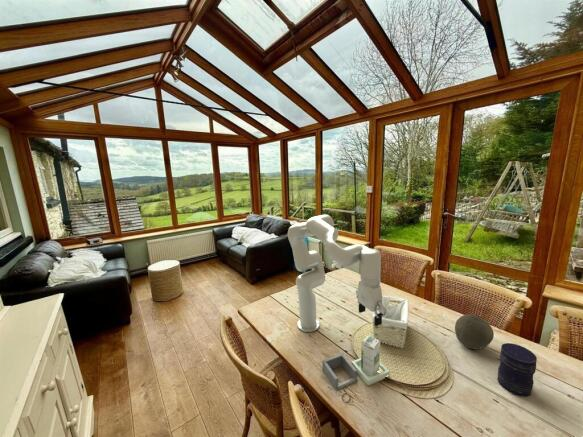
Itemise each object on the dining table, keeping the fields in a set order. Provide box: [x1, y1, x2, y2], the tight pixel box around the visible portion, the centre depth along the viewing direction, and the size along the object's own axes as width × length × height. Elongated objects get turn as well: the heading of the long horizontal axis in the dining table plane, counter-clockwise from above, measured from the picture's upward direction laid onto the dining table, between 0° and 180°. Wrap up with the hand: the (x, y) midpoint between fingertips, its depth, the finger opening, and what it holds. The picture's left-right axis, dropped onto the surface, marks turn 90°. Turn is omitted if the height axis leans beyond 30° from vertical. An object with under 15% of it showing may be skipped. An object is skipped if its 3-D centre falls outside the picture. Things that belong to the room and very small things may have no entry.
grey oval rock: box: [454, 313, 495, 350], centre depth 111 cm, size 14×14×15 cm
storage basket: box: [371, 294, 410, 349], centre depth 123 cm, size 24×16×15 cm
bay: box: [321, 352, 358, 391], centre depth 100 cm, size 11×10×5 cm
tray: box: [351, 357, 390, 387], centre depth 101 cm, size 11×11×2 cm
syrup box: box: [360, 335, 381, 377], centre depth 100 cm, size 6×6×14 cm
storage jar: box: [497, 342, 538, 398], centre depth 90 cm, size 10×10×15 cm
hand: (369, 318), depth 97 cm, fingers open, 9 cm apart
